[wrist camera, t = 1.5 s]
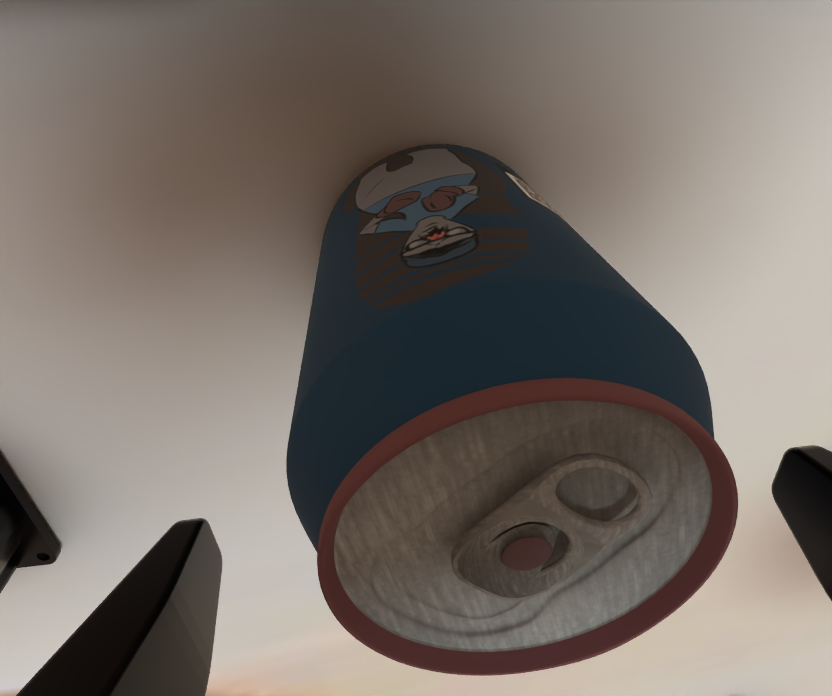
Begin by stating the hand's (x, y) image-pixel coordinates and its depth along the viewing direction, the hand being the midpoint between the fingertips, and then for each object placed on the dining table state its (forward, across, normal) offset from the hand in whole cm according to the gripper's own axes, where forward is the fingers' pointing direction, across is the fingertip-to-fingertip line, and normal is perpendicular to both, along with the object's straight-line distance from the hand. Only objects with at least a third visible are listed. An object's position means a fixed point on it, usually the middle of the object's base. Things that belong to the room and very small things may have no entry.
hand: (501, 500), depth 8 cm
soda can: (+11, 0, 0) cm, 11 cm away
